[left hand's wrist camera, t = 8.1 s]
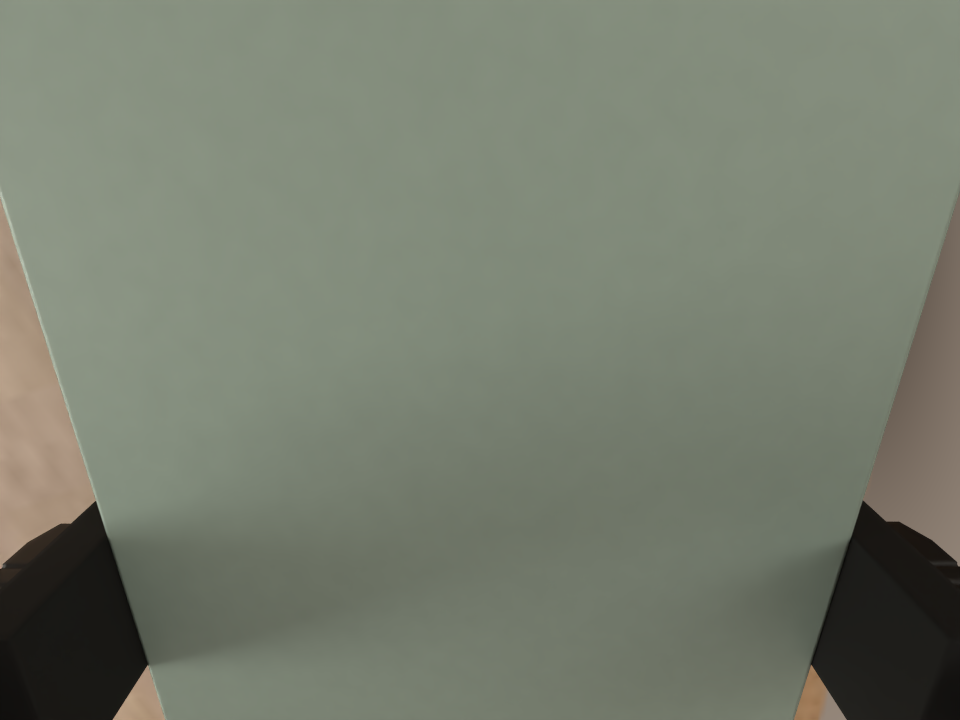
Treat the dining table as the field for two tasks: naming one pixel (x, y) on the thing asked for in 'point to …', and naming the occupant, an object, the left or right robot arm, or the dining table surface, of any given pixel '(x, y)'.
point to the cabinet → (479, 333)
